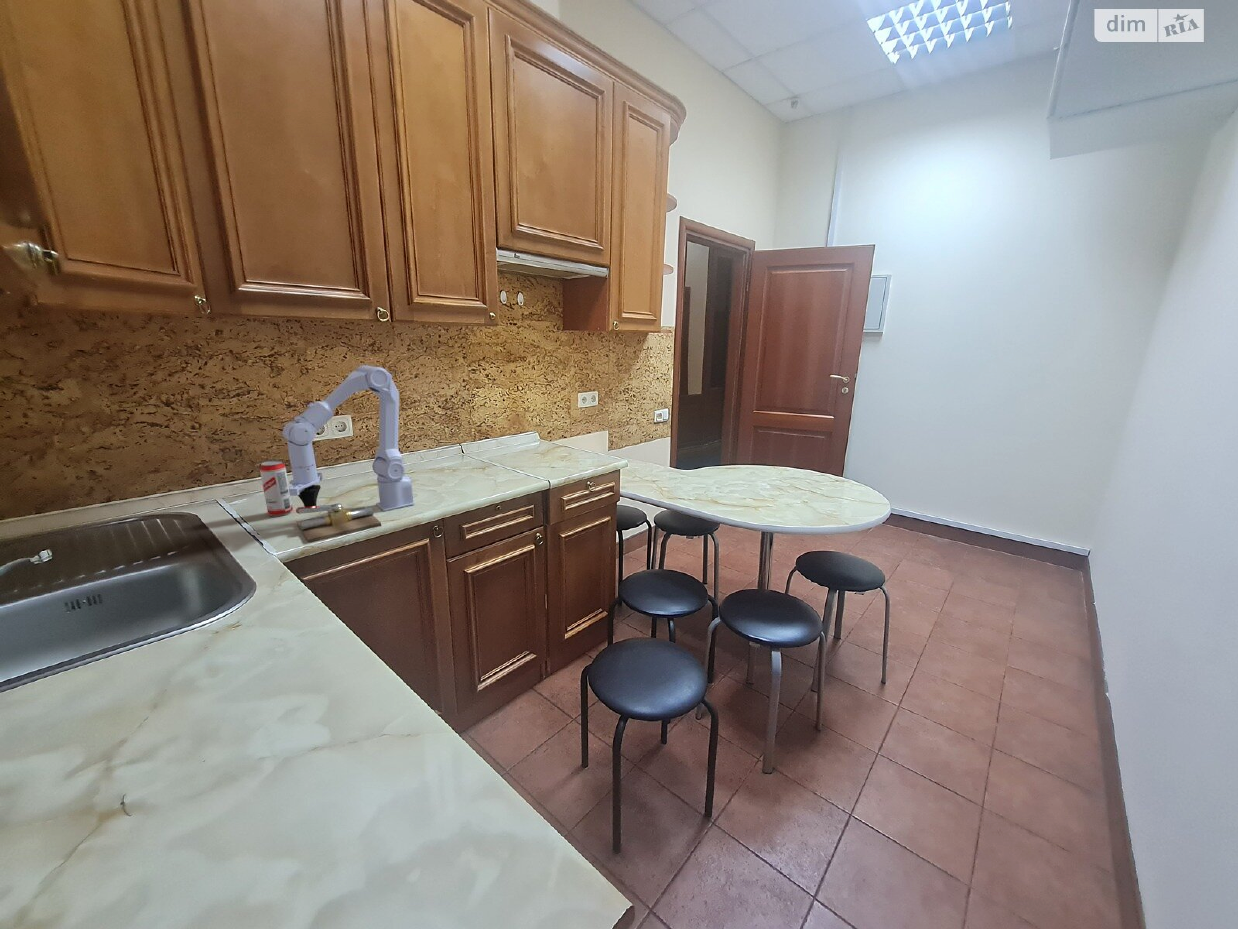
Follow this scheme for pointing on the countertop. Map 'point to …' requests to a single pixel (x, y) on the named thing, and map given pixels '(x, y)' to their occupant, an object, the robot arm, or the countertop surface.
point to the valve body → (336, 518)
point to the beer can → (276, 488)
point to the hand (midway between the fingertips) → (311, 511)
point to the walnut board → (339, 528)
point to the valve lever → (319, 508)
